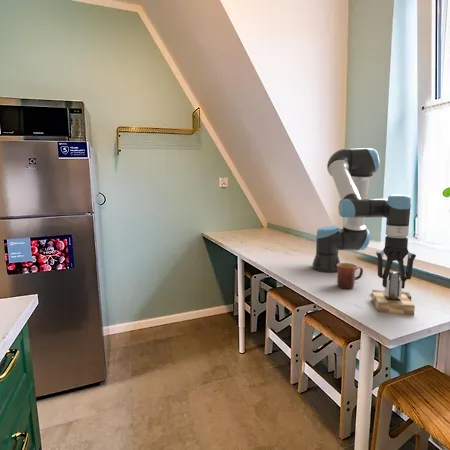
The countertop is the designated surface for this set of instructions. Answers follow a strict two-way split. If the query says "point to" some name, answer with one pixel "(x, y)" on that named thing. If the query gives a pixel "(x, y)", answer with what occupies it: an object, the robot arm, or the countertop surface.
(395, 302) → the socket block
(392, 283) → the pin
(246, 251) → the countertop surface
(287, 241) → the countertop surface
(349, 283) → the mug
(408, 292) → the bar
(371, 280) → the countertop surface
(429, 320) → the countertop surface
